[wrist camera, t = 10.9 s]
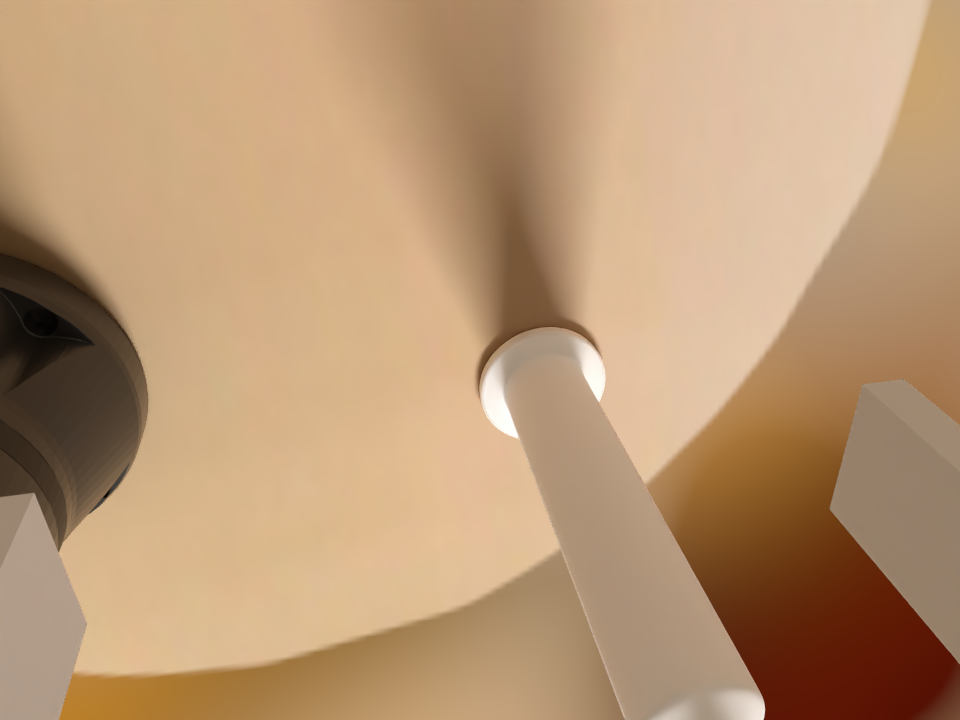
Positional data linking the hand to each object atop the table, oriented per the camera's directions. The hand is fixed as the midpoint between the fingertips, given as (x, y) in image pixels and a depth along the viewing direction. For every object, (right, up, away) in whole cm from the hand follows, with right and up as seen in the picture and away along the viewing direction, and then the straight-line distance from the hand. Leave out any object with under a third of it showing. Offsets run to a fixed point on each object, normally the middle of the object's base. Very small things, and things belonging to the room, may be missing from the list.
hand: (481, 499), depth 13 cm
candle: (+3, +1, +32) cm, 32 cm away
